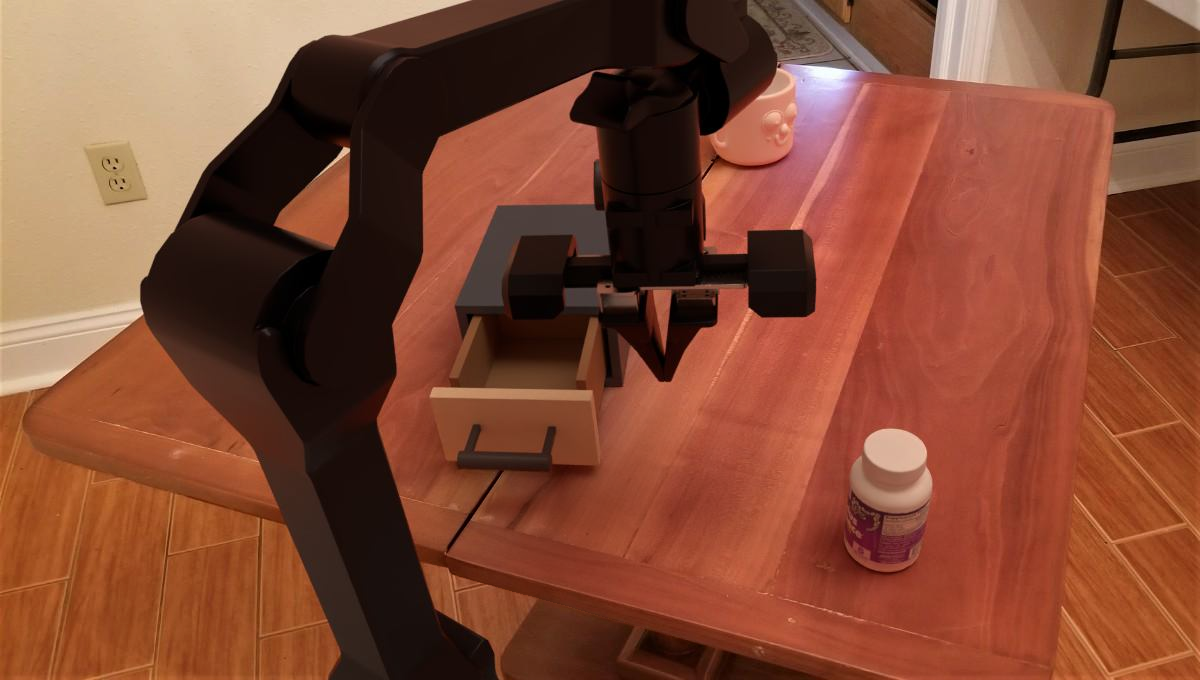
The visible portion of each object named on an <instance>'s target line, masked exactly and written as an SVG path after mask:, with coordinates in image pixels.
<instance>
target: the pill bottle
mask: <svg viewBox="0 0 1200 680" xmlns="http://www.w3.org/2000/svg"><path fill="white" fill-rule="evenodd" d="M927 458H928V450H927V447H926V445H925V443H924V442H923V441H922V440H921V438H919V437H918V436H917V435H915V434H913V433H911V432H909V431H907V430H904V429H901V428H900V429H899V428H882V429H878V430H875V431H874V432H872V433H871V434H869V435H868V436H867V437H866V438H865V441H864V443H863V448H862V452H861V455H860V456H859V457H858V458H856V459H855V461H854V462H853V464H852V466H851V469H850V471H849V478H848V487H847V497H846V498H847V499H846V509H845V520H844V531H843V542H844V545H845V548H846V550H847V552H848V554H849V555H850V557H852V559H853V560H854V561H856V562H857V563H859V564H860V565H861V566H863V567H865V568H867V569H869V570H872V571H876V572H882V573H891V572H892V573H893V572H899V571H902V570H904V569H906V568H907V567H910V566H912V565H913V564H914V563H915V562H916V561H917V559H918V557H919V556H920V553H921V549H922V545H923V541H924V536H925V535H924V534H925V531H926V527H927V520H928V515H929V509H930V505H931V504H930V503H931V499H932V495H933V477H932V475H931V472H930V470H929V468H928V467H927V460H928V459H927Z"/></svg>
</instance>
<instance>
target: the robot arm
mask: <svg viewBox="0 0 1200 680" xmlns="http://www.w3.org/2000/svg"><path fill="white" fill-rule="evenodd" d="M778 64H779V63H778V53H777V51H776V50H775V47H774V43H773V41H772V39H771V37H770V35H769V34H768V32H767V30H766V29H765V28H764V27H763V26H762V25H761V23H760V22H758V21H757V20H756V19H754V18H753V17H752V16H751V15H749V14H748V0H467V1H463V2H460V3H456V4H452V5H450V6H447V7H443V8H439V9H436V10H432V11H430V12H426V13H423V14H418V15H416V16H413V17H408V18H406V19H402V20H398V21H396V22H392V23H388V24H386V25H385V24H384V25H381V26H379V27H375V28H371V29H368V30H365V31H361V32H358V33H355V34H351V35H343V34H342V35H341V34H328V35H324V36H321V37H320V38H318V39H313V40H311V41H310V42H308V43H306V44H304V45H302V46H301V47H299V48H298V49H297V51H296V52H295V54H294V55H293V57H291V59H290V61H289V62H288V64H287V66H286V69H285V71H284V73H283V75H282V77H281V79H280V81H279V83H278V84H277V87H276V89H275V91H274V93H273V94H272V97H271V100H270V102H269V103H268V105H266V107H265V108H263V110H262V111H260V112H259V113H258V114H257V115H256V116H255V117H254V118H253V119H252V121H250V122H249V123H248V124H247V126H246V127H244V128H243V129H242V130H241V131H240V132H239V133H238V134H237V135H236V136H235V137H234V138H233V139H232V140H231V141H230V142H229V143H228V144H227V145H226V146H225V147H224V148H223V149H222V150H221V151H220V152H219V153H218V154H217V155H216V156H215V157H214V158H213V159H212V160H210V162H209V163H208V164H207V166H205V168H204V170H203V171H202V173H201V175H200V177H199V179H198V181H197V183H196V185H195V188H194V189H193V191H192V193H191V196H190V197H189V199H188V201H187V203H186V206H185V208H184V210H183V212H182V213H181V216H180V218H179V220H178V222H177V224H176V226H175V228H174V231H173V232H171V233H170V234H169V235H168V236H167V239H166V240H165V241H164V243H162V245H161V246H160V248H159V249H158V250H157V252H156V253H155V255H154V258H153V260H152V263H151V266H150V268H149V271H148V274H147V275H146V276H144V277H143V278H142V280H141V281H140V284H139V302H140V307H141V310H142V314H143V317H144V320H145V321H144V322H145V325H146V326H147V327H148V329H149V331H150V333H151V334H152V335H153V337H154V339H155V340H156V341H157V343H158V344H159V345H160V346H161V347H162V349H163V350H164V351H165V353H166V354H167V356H168V357H169V358H170V360H172V361H171V362H173V363H174V364H175V366H176V367H177V368H178V370H179V371H180V372H181V374H182V375H183V377H184V378H185V379H186V380H187V382H188V383H189V384H190V385H191V387H192V388H194V389H195V391H196V392H197V393H198V394H199V395H200V396H201V397H202V398H203V399H204V400H205V401H206V402H207V403H208V404H209V405H210V406H212V408H213V409H214V410H215V411H216V412H217V413H218V414H219V415H220V416H221V417H222V418H223V419H225V421H226V422H228V424H229V425H231V427H233V429H234V430H236V431H237V433H239V435H241V437H242V438H244V440H245V441H246V442H247V443H248V444H249V445H250V447H251V449H252V450H253V451H254V454H255V456H256V458H257V461H258V463H259V466H260V468H261V470H262V472H263V474H264V477H265V479H266V481H267V484H268V486H269V489H270V491H271V493H272V495H273V497H274V500H275V502H276V505H277V507H278V509H279V511H280V514H281V517H282V518H283V521H284V524H285V525H286V528H287V530H288V532H289V534H290V537H291V539H292V542H293V544H294V546H295V549H296V551H297V554H298V555H299V558H300V560H301V563H302V565H303V567H304V570H305V572H306V574H307V576H308V579H309V582H310V583H311V586H312V588H313V590H314V593H315V594H316V597H317V600H318V602H319V604H320V606H321V607H320V608H321V609H322V612H323V613H324V615H325V619H326V621H327V623H328V625H329V627H330V630H331V633H332V635H333V637H334V639H335V642H336V644H337V646H338V649H339V652H340V654H339V656H338V658H337V660H336V662H335V664H334V665H333V666H332V668H331V670H330V672H329V674H328V675H327V680H500V678H499V676H498V674H497V670H496V657H495V651H494V650H493V647H492V645H491V643H490V641H489V639H487V638H486V637H484V636H482V635H481V634H479V633H477V632H476V631H474V630H472V629H470V628H469V627H467V626H465V625H464V624H462V623H460V622H458V621H457V620H455V619H454V618H451V617H450V616H448V615H447V614H444V613H443V612H441V611H440V610H438V609H436V607H435V604H434V601H433V598H432V595H431V592H430V588H429V585H428V582H427V579H426V576H425V572H424V569H423V567H422V563H421V560H420V557H419V554H418V553H419V552H418V549H417V547H416V543H415V541H414V537H413V534H412V531H411V527H410V525H409V521H408V519H407V515H406V512H405V509H404V505H403V502H402V499H401V496H400V492H399V490H398V489H399V488H398V487H397V482H396V479H395V476H394V473H393V470H392V468H391V467H392V466H391V463H390V459H389V457H388V454H387V451H386V448H385V445H384V441H383V439H382V435H381V432H380V428H379V423H378V417H379V415H380V413H381V411H382V408H383V406H384V404H385V402H386V400H387V397H388V396H389V393H390V391H391V389H392V387H393V384H394V383H395V380H396V378H397V374H398V366H397V356H396V347H395V338H394V328H393V327H394V326H393V324H394V322H395V320H396V318H397V316H398V313H399V311H400V310H401V307H402V304H403V302H404V300H405V298H406V296H407V294H408V291H409V289H410V287H411V285H412V283H413V281H414V278H415V276H416V273H417V272H418V269H419V267H420V265H421V263H422V258H423V254H424V182H423V181H424V177H423V176H424V171H425V169H426V167H427V164H428V162H429V160H430V158H431V156H432V154H433V152H434V150H435V147H436V145H437V143H438V140H439V138H441V137H443V136H446V135H448V134H450V133H453V132H455V131H457V130H459V129H461V128H464V127H466V126H470V125H471V124H474V123H476V122H478V121H481V120H482V119H485V118H487V117H490V116H492V115H494V114H496V113H499V112H502V111H504V110H506V109H508V108H511V107H513V106H515V105H517V104H520V103H522V102H524V101H525V102H526V101H527V100H530V99H533V98H534V97H536V96H538V95H540V94H543V93H546V92H548V91H550V90H552V89H555V88H557V87H559V86H562V85H564V84H567V83H569V82H571V81H574V80H576V79H578V78H581V77H582V76H585V75H587V74H590V73H592V74H591V77H590V79H589V82H588V84H587V85H586V87H585V88H584V90H583V91H582V92H581V93H580V94H579V95H578V96H577V97H576V98H575V100H574V101H573V103H572V106H571V108H570V111H569V120H570V121H571V122H572V123H575V124H580V125H586V126H591V127H595V131H596V139H597V140H596V141H597V151H598V159H597V158H596V159H595V160H594V161H593V182H592V184H593V185H592V188H593V190H592V191H593V204H594V206H595V209H596V210H597V211H605V217H606V226H607V236H608V245H609V255H578V249H577V242H576V238H575V237H574V236H573V235H530V236H521V237H520V238H519V239H518V240H517V241H516V243H515V244H514V245H513V248H512V251H511V254H510V257H509V260H508V263H507V266H506V269H505V272H504V275H503V278H502V289H501V294H502V299H503V304H504V309H505V314H506V315H507V316H508V317H510V318H511V319H512V320H554V319H555V318H556V317H557V316H558V315H559V314H560V313H561V312H562V311H563V310H564V309H565V306H566V300H565V293H564V290H565V288H597V289H596V293H597V296H598V297H599V302H600V308H599V314H598V323H599V325H600V326H601V327H602V328H611V329H614V330H616V331H617V332H618V333H619V334H620V335H621V336H622V337H623V338H624V339H625V340H626V341H627V342H628V343H629V344H630V347H632V349H633V350H634V351H635V352H636V353H637V354H638V356H639V357H640V358H641V360H642V361H643V362H644V364H645V365H646V366H647V368H648V369H649V370H650V372H651V374H652V375H653V376H654V377H655V379H656V380H657V381H658V382H659V383H671V382H672V381H673V379H674V376H675V373H676V371H677V369H678V367H679V365H680V362H681V360H682V358H683V356H684V353H685V352H686V350H687V349H688V348H689V345H690V344H691V343H692V341H693V340H694V338H696V336H697V334H698V333H699V332H700V330H701V329H708V328H709V329H710V328H713V327H715V326H716V325H717V324H718V322H719V295H720V294H721V293H720V292H721V291H720V290H745V289H747V308H748V309H750V310H751V311H752V312H754V313H755V314H756V315H757V316H759V317H760V318H761V319H763V318H764V319H765V318H766V319H767V318H769V319H771V318H772V319H773V318H778V319H781V318H808V317H809V316H810V315H812V314H814V313H815V312H816V301H817V271H816V261H815V255H814V246H813V238H811V236H810V235H809V234H808V233H807V232H806V231H805V230H804V229H803V228H802V229H800V228H799V229H761V230H758V229H757V230H756V229H755V230H747V231H746V232H747V233H746V253H718V248H717V247H716V246H705V242H706V241H707V213H706V211H707V209H706V206H707V205H706V198H705V195H704V193H703V181H702V180H703V179H702V176H703V175H702V149H701V147H702V145H701V137H707V136H709V135H710V134H713V133H715V132H717V131H718V130H720V129H721V128H723V127H724V126H725V125H726V124H727V123H729V122H730V121H731V120H732V119H733V118H734V117H736V116H737V115H738V114H739V113H740V112H741V111H743V110H744V109H745V108H746V107H747V106H748V105H750V104H751V103H752V102H753V101H754V100H755V99H757V98H758V97H759V96H760V95H761V94H762V93H764V92H765V91H766V90H767V88H768V87H769V86H770V85H771V84H772V82H773V79H774V77H775V75H776V70H777V68H778ZM603 70H604V71H605V70H614V71H613V72H610V73H609V72H604V71H603ZM602 71H603V72H602ZM344 148H347V149H349V167H348V168H349V169H348V172H349V173H348V174H349V175H348V180H349V181H348V213H347V214H348V216H347V220H346V222H345V224H344V226H343V228H342V230H341V233H340V235H339V237H338V239H337V241H336V243H335V245H334V246H333V245H331V244H327V243H325V242H321V241H319V240H316V239H313V238H311V237H307V236H305V235H302V234H300V233H296V232H294V231H290V230H287V229H286V228H285V229H284V228H283V227H279V226H277V225H275V224H276V222H277V219H278V217H279V215H280V214H281V212H282V211H283V210H284V209H285V208H286V207H287V206H288V205H289V204H290V203H292V201H294V199H295V198H296V197H297V196H298V195H300V194H301V192H303V191H304V190H305V189H306V188H307V187H308V186H309V185H310V184H311V183H312V182H314V180H315V179H316V178H317V177H318V176H319V175H320V174H321V173H323V171H325V170H326V169H327V168H328V167H329V166H330V165H331V164H332V163H333V162H334V161H335V160H336V159H337V158H338V157H339V155H340V154H341V152H342V151H343V150H344ZM654 291H671V292H670V302H669V312H668V321H667V322H668V323H667V330H666V340H665V346H664V342H663V338H662V332H661V328H660V324H659V323H660V322H659V318H658V314H657V309H656V304H655V296H654V295H655V294H654ZM664 347H665V348H664Z"/></svg>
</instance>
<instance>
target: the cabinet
mask: <svg viewBox="0 0 1200 680" xmlns="http://www.w3.org/2000/svg"><path fill="white" fill-rule="evenodd" d="M530 235H573V236H574V237H575V238H576V242H577V249H578V255H609V245H608V236H607V226H606V217H605V211H597V210H596V209H595V206H594V203H576V204H575V203H571V204H570V203H567V204H560V203H559V204H501V205H500V204H497V205H496V208H495V210H494V213H493V215H492V217H491V219H490V221H489V224H488V226H487V229H486V231H485V233H484V236H483V238H482V241H481V243H480V245H479V248H478V250H477V251H476V255H475V257H474V259H473V261H472V264H471V266H470V268H469V271H468V273H467V275H466V278H465V279H464V281H463V282H464V283H463V285H462V287H461V289H460V292H459V294H458V296H457V299H456V301H455V302H454V310H455V313H456V315H455V316H456V319H457V323H458V328H459V331H460V335H461V340H462V341H463V340H464V338H465V335H466V333H467V330H468V328H469V325H470V323H471V320H472V318H473V315H474V314H505V309H504V304H503V299H502V294H501V289H502V278H503V275H504V272H505V269H506V266H507V263H508V260H509V257H510V254H511V251H512V248H513V245H514V244H515V243H516V241H517V240H518V239H519V238H520V237H521V236H530ZM596 289H597V288H565V290H564V293H565V300H566V306H565V309H564V310H563V311H562V312H561V313H560V314H576V315H598V314H599V308H600V302H599V297H598V296H597V293H596ZM607 335H608V344H609V353H610V357H609V362H608V367H607V372H606V377H605V382H604V387H624V384H625V383H624V382H625V376H626V371H627V365H628V361H629V355H630V349H631V345H630V344H629V343H628V342H627V341H626V340H625V339H624V338H623V337H622V336H621V335H620V334H619V333H618V332H617V331H616V330H614V329H611V328H607Z"/></svg>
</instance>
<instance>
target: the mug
mask: <svg viewBox="0 0 1200 680" xmlns="http://www.w3.org/2000/svg"><path fill="white" fill-rule="evenodd" d="M798 110H799V109H798V107H797V103H796V78H795V77H794V75H793V74H792V73H791V72H789V71H787V70H785V69H782V68H780V67H777V70H776V75H775V77H774V79H773V82H772V84H771V85H770V86H769V87H768V88H767V90H766V91H765V92H764V93H762V94H761V95H760V96H759V97H758V98H757V99H755V100H754V101H753V102H752V103H751V104H750V105H748V106H747V107H746V108H745V109H744V110H743V111H741V112H740V113H739V114H738V115H737V116H736V117H734V118H733V119H732V120H731V121H730V122H729V123H727V124H726V125H725V126H724V127H723V128H721V129H720V130H718V131H717V132H715V133H713V134H710V135H708V138H709V139H708V140H709V141H710V144H711V146H713V149H714V151H715V153H716V154H717V155H718V156H719V158H721V159H723V160H725V161H726V162H729V163H731V164H736V165H740V166H763V165H768V164H772V163H775V162H777V161H779V160H781V159H783V158H784V157H786V156H787V155H788V153H790V151H791V150H792V148H793V144H794V132H795V119H796V118H797V117H798V112H799V111H798Z"/></svg>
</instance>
